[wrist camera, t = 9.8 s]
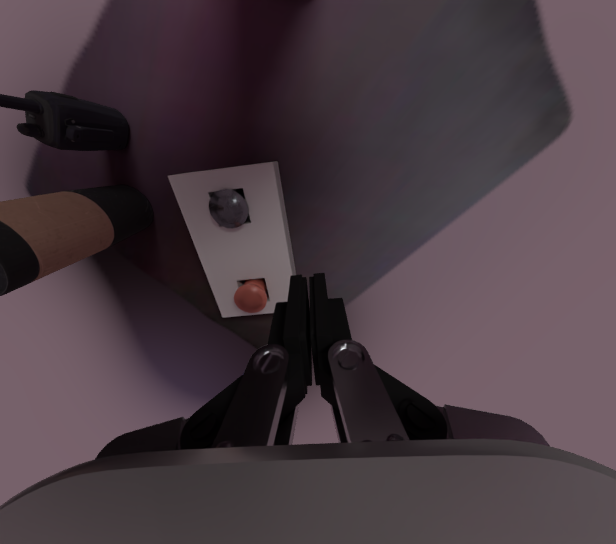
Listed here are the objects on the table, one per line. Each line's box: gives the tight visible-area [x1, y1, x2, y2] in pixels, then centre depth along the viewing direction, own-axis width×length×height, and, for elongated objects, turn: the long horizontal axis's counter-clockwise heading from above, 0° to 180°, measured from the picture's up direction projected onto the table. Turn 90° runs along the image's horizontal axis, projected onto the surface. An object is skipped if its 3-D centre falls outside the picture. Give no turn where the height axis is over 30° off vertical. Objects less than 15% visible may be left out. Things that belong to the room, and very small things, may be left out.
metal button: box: [209, 189, 249, 228], centre depth 31 cm, size 5×5×4 cm
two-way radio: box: [0, 91, 129, 151], centre depth 24 cm, size 6×4×15 cm
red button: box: [234, 278, 267, 313], centre depth 37 cm, size 5×5×4 cm
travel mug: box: [0, 185, 153, 296], centre depth 26 cm, size 8×8×20 cm
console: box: [168, 161, 296, 318], centre depth 36 cm, size 24×14×5 cm, turn 7°
